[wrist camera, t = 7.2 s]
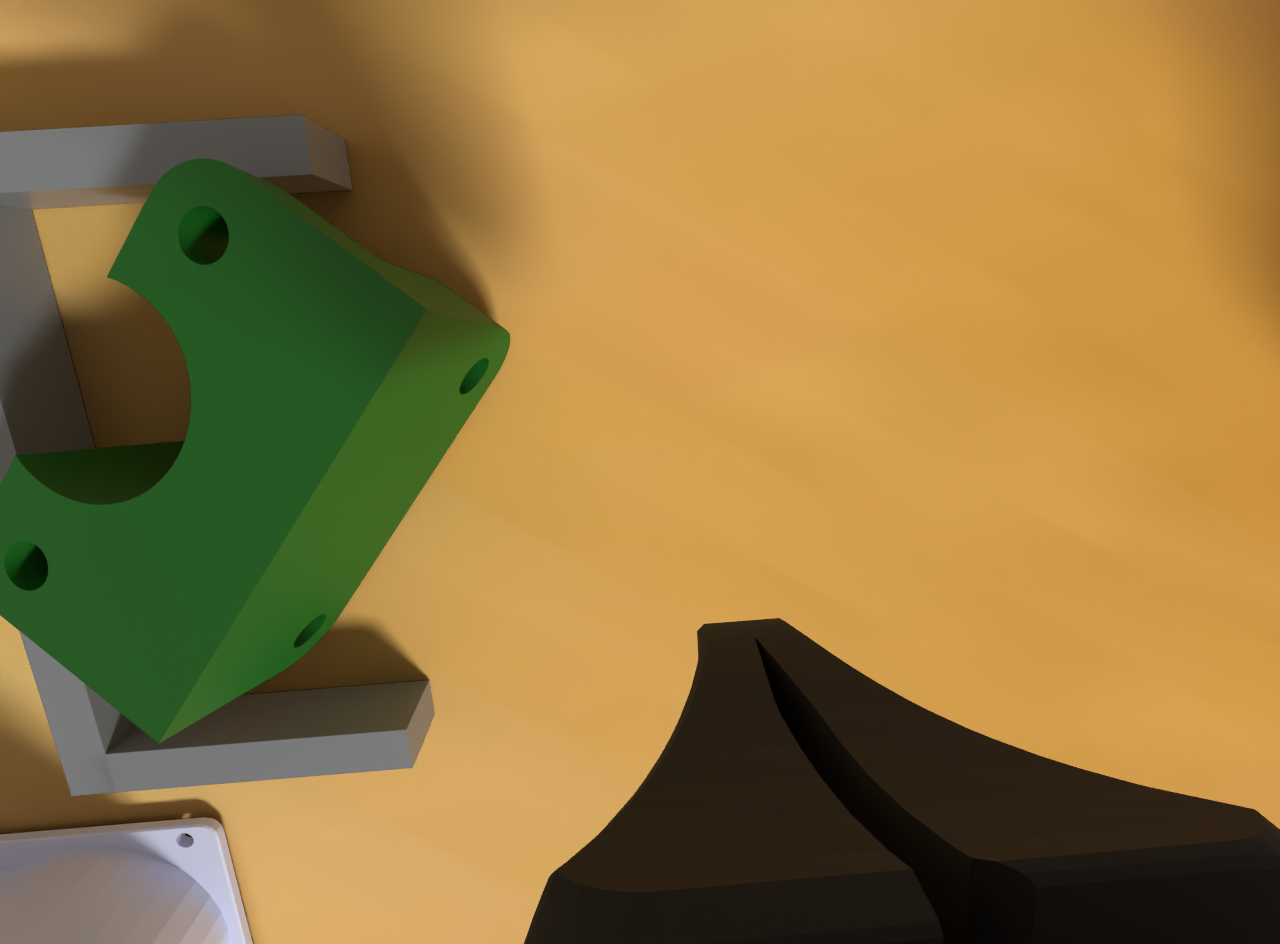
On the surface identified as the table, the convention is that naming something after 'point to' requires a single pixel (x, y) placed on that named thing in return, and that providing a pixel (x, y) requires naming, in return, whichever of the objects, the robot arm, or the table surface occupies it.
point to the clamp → (241, 453)
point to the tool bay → (56, 421)
